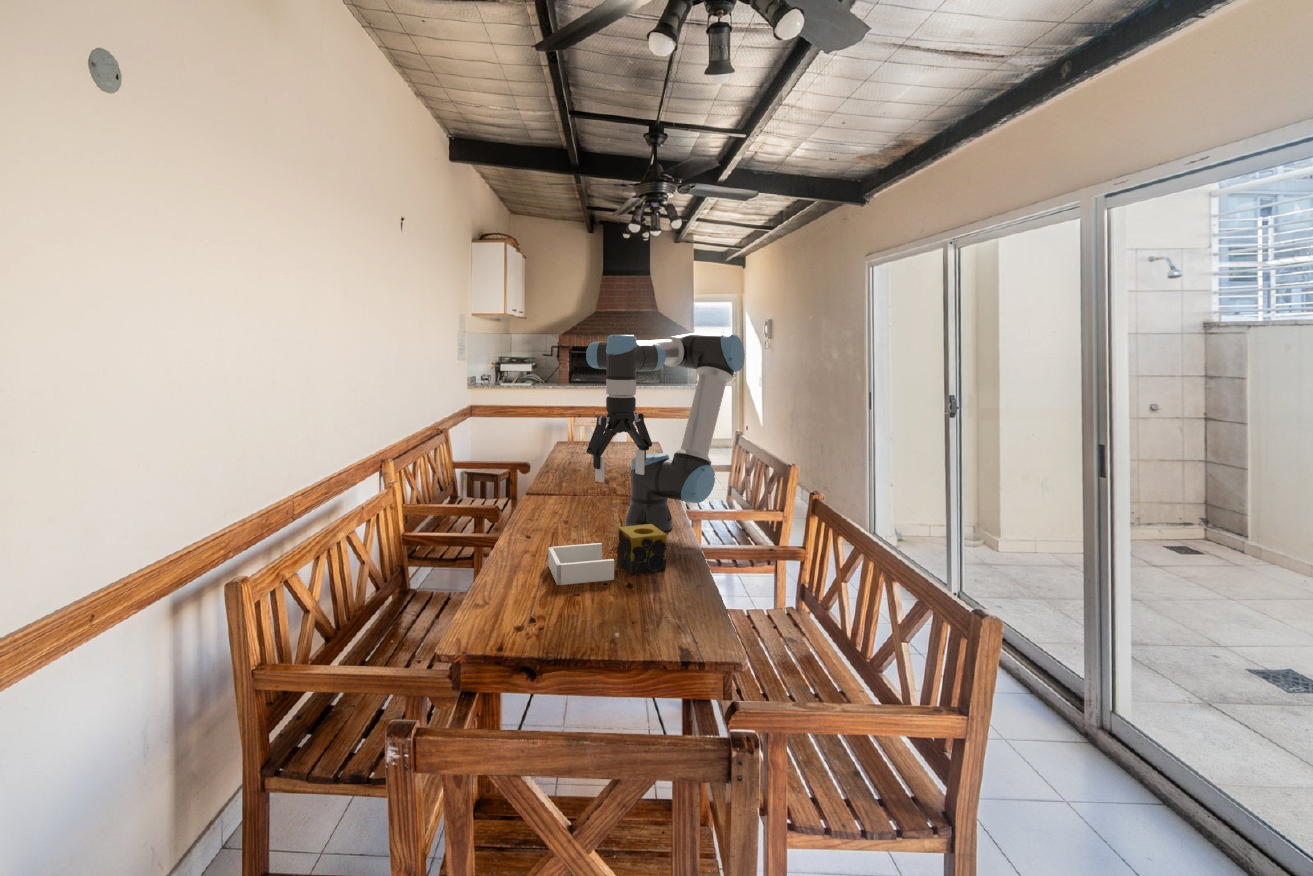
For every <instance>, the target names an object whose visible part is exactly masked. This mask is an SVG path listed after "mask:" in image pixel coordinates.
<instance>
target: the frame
mask: <svg viewBox="0 0 1313 876" xmlns="http://www.w3.org/2000/svg"><path fill="white" fill-rule="evenodd" d="M547 548H548V549H547V551H548V552H547V557H548V558H547V559H548V560H547V564H548V566H547V567H548V568H549V571H550V572H551V574H552V577H553V579H554V581H555V582H554V583H555V584H556V585H557V586H564V585H574V584H575V585H576V584H584V583H592V582H593V583H594V582H595V583H596V582H605V581H614V580H615V560H614V558H611V559H610V558H608V559H603V543H602V542H598V543H597V542H595V543H584V544H583V543H582V544H572V545H571V544H569V545H558V546H557V545H556V546H548V547H547Z"/></svg>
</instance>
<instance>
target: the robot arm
mask: <svg viewBox="0 0 1313 876" xmlns="http://www.w3.org/2000/svg"><path fill="white" fill-rule="evenodd" d="M585 355H586V358H585V359H586V362H587V364H588V366H590V367H591V368H593V369H598V370H606V379H605V380H606V387H605V388H606V395H607V396H606V398H605V405H606V406H605V409H606V412H607V416H601V415H598V416H597V418H596V425H595V427H594V431H593V432H592V435H591V438H590V440H589V442H588V443H589V444H588V445H587V449H586V454H589V455H590V456H593V457H592V458H593V459H592V461H593V462H592V464H593V466H592V467H593V469H595V471H594V477H595V478H594V480H595V482H600V483H605V456H604V455H603V454H604V452H605V450H606V449H607V447H608V445H609V444H610V443H611V441H612V439H613V437H615V436H616V435H617V434H621V433H627V434H628V435H629V437H630V438H631V440H632V441H633V442H634V444H635V446H636V447H637V448H636V449H635V456H634V457H633V458H632V459H631V460H632V461H631V467H630V503H629V507H628V509H627V513H626V515H625V518H624V526H636V525H646V524H653V525H654V526H655V527H657V528H658V529H660V530H661V531H662V532H664V533H665V532H666V531H669V530H672V529H673V517H672V513H671V510H670V506H669V501H668V499H671V500H675V501H681V502H685V503H688V504H689V503H692V504H700V503H702V502H704V501H705V500H706V499H708V497H709V496H710V495H711V493H712V491H713V489H714V486H715V483H716V477H715V476H716V474H715V470H714V468H713V467H712V461H711V459H710V458H709V454H710V449H711V445H712V442H713V438H714V433H715V429H716V425H717V421H718V417H719V414H720V413H719V412H720V409H721V405H722V400H723V398H724V395H725V388H726V385H727V383H729V382H730V381H732V380H733V377H734V374H735V373H738V372H740V371H741V370H742V369H743V367H744V365H745V355H746V354H745V347H744V345H743V341H742V340H741V338H740V337H739V335H737V334H735V333H726V332H722V333H721V332H720V333H719V332H718V333H717V332H715V333H714V332H710V333H709V332H691V333H685V334H680V335H674V336H673V335H670V336H665V338H663V339H651V340H647V339H645V340H644V339H643V340H637V337H636V336H635V335H634V334H609V335H608V336H607V339H606V341H601V340H600V341H593V342H590V344H589V345H588V347H587V348H586V351H585ZM664 365H665V366H666V367H671V368H673V367H678V368H684V369H692V370H695V372H696V373H697V375H698V381H697V385H696V389H695V392H694V396H693V400H692V404H691V407H690V411H689V412H690V413H689V415H688V420H687V422H686V427H685V431H684V434H683V435H684V436H683V438H682V443H681V447H680V449H678V450H677V451H675V452H674V454H673V458H672V460H671V459H670V457H669V456H670V455H669V454H667V453H661V452H660V453H647V451H649V450H650V447H651V448H652V447H653V442H652V439H651V437H650V433H649V431H648V428H647V426H646V423H645V416H644V415H645V414H644V413H641V412H636V408H637V406H636V405H637V404H636V403H637V402H636V401H637V399H636V397H635V395H636V393H637V372H654V371H659V370H660V369H662V368H663V366H664ZM634 412H635V413H634Z"/></svg>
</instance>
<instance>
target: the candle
mask: <svg viewBox="0 0 1313 876" xmlns="http://www.w3.org/2000/svg"><path fill="white" fill-rule="evenodd" d="M617 534H618V535H617V538H618V545H617V550H616V554H617V555H616V556H617V557H616V564H618V565H619V566H620V568H622V570H624V571H625V572H627V573H628V575H630V576H637V575H644V574H652V573H657V572H659V573H660V572H665V571H666V566H667V565H666V564H667V559H666V556H667V555H666V554H667V551H666V550H667V543H668V542H667V541H668V534H667V533H665V531H664V532H662V531H661V530H660V529H658V528H657V527H655V526H654V525H653V524H646V525H636V526H625V525H624V526H618V528H617Z"/></svg>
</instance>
